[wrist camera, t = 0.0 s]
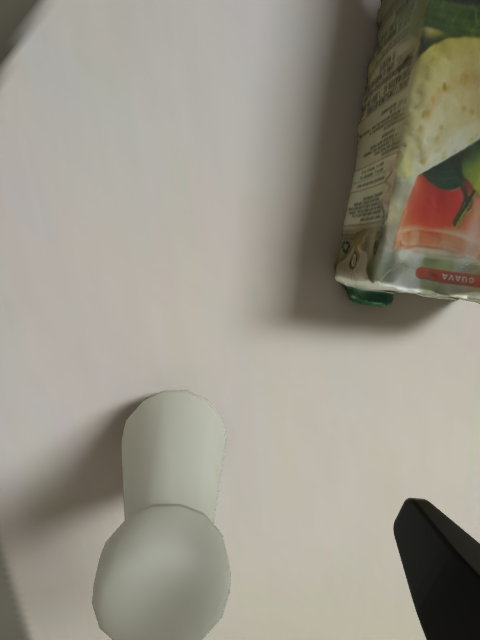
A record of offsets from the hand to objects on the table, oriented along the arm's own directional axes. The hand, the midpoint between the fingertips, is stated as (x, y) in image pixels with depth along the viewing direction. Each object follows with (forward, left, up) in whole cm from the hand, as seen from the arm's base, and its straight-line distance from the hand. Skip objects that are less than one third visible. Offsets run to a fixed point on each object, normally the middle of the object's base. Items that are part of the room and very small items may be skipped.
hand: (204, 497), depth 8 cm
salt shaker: (-4, -3, -16) cm, 17 cm away
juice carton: (+19, 0, -16) cm, 25 cm away
